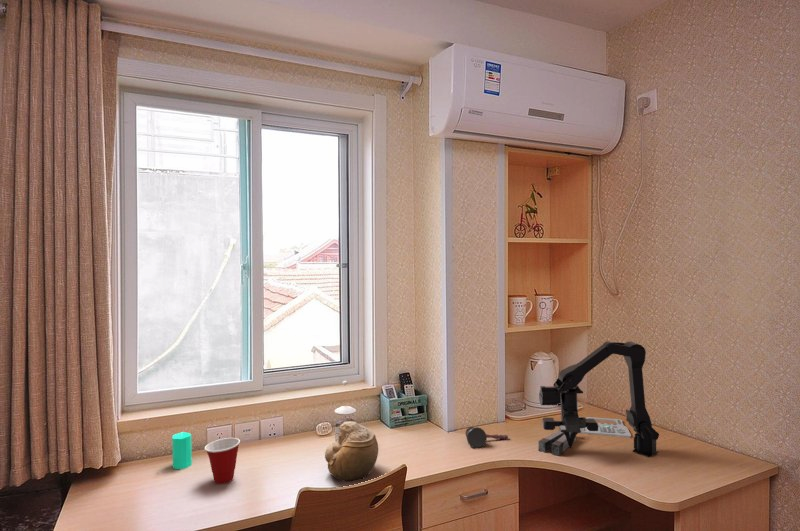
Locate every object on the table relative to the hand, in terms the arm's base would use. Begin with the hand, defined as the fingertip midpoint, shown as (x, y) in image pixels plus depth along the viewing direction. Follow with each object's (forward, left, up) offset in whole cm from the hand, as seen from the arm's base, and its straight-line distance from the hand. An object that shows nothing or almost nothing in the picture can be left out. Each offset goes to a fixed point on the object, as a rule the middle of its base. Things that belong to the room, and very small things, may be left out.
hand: (570, 447), depth 178 cm
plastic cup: (+53, +108, -2) cm, 121 cm away
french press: (+54, +62, -2) cm, 83 cm away
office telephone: (+9, -32, -2) cm, 33 cm away
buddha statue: (+32, +73, -2) cm, 80 cm away
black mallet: (+24, +18, -2) cm, 30 cm away
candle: (+73, +116, -2) cm, 137 cm away
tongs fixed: (+7, -2, -1) cm, 8 cm away
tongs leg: (+4, -1, -1) cm, 4 cm away
